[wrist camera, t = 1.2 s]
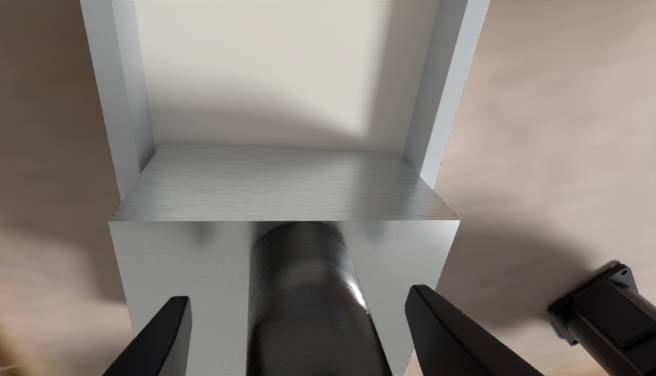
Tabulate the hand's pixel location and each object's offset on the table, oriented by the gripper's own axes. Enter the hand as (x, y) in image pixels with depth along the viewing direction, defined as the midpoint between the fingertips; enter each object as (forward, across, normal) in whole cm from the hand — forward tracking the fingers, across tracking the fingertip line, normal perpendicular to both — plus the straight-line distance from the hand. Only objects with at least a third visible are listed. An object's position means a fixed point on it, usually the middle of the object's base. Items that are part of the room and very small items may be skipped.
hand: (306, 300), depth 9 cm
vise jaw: (+7, 0, +2) cm, 7 cm away
